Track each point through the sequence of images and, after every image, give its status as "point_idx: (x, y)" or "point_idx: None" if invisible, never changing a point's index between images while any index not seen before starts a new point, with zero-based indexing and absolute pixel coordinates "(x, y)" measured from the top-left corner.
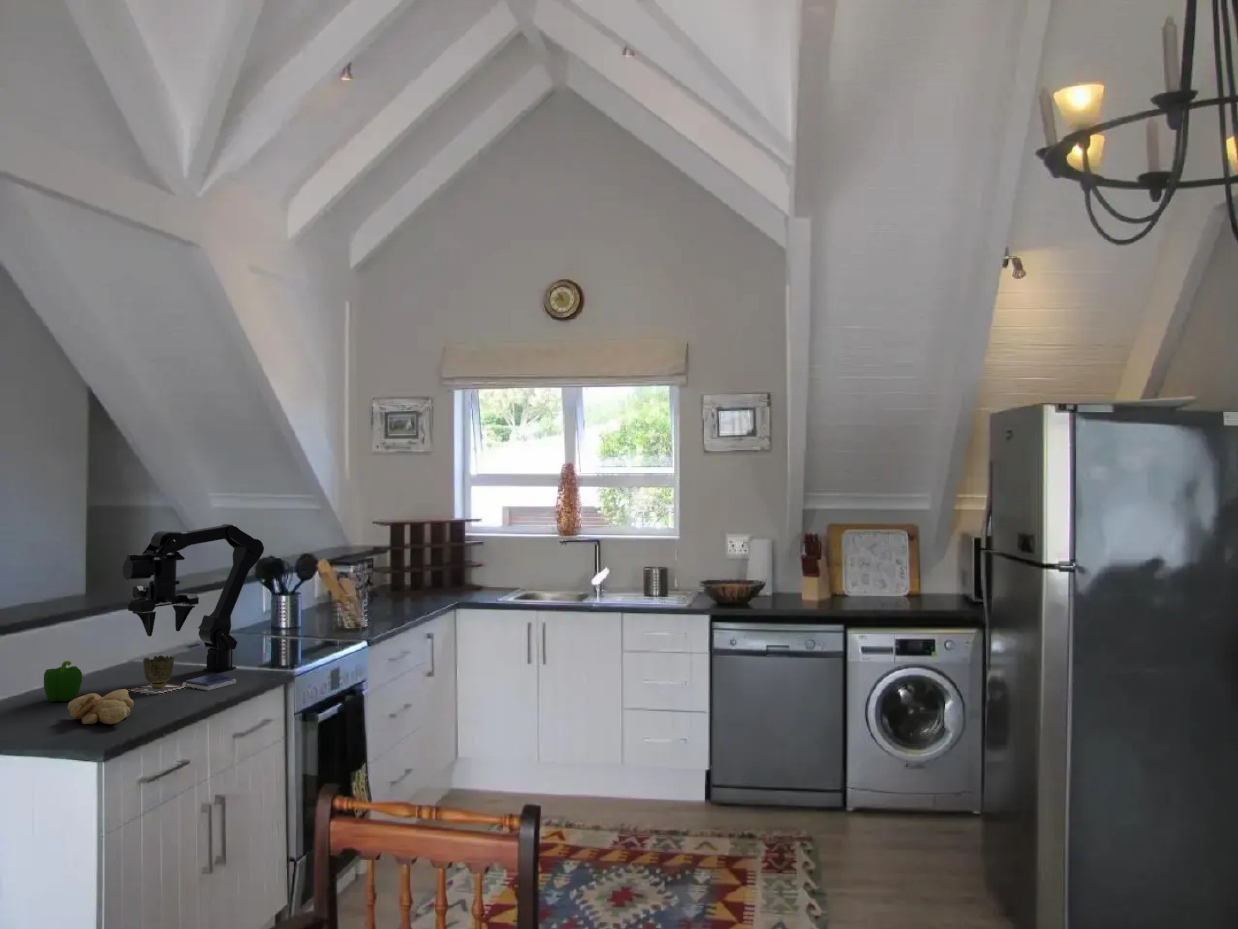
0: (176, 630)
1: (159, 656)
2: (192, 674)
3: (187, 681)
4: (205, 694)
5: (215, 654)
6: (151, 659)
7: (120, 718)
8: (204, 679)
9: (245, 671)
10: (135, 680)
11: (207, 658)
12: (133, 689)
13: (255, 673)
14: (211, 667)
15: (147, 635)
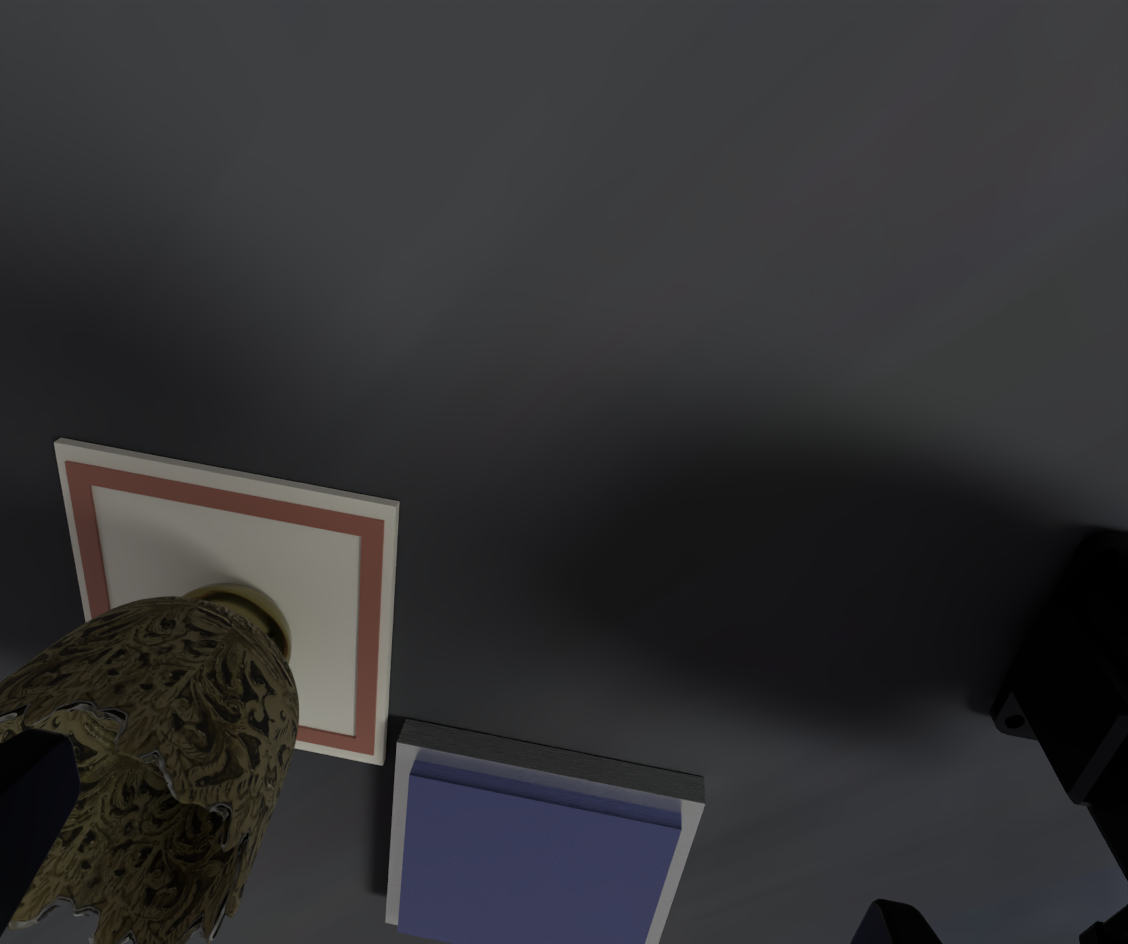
0: (873, 922)
1: (170, 781)
2: (873, 533)
3: (409, 782)
4: (313, 922)
5: (1101, 827)
6: (96, 713)
7: None
8: (497, 865)
9: (1090, 856)
10: (410, 151)
11: (1094, 700)
12: (83, 484)
13: (1014, 936)
14: (1020, 680)
15: (21, 735)
